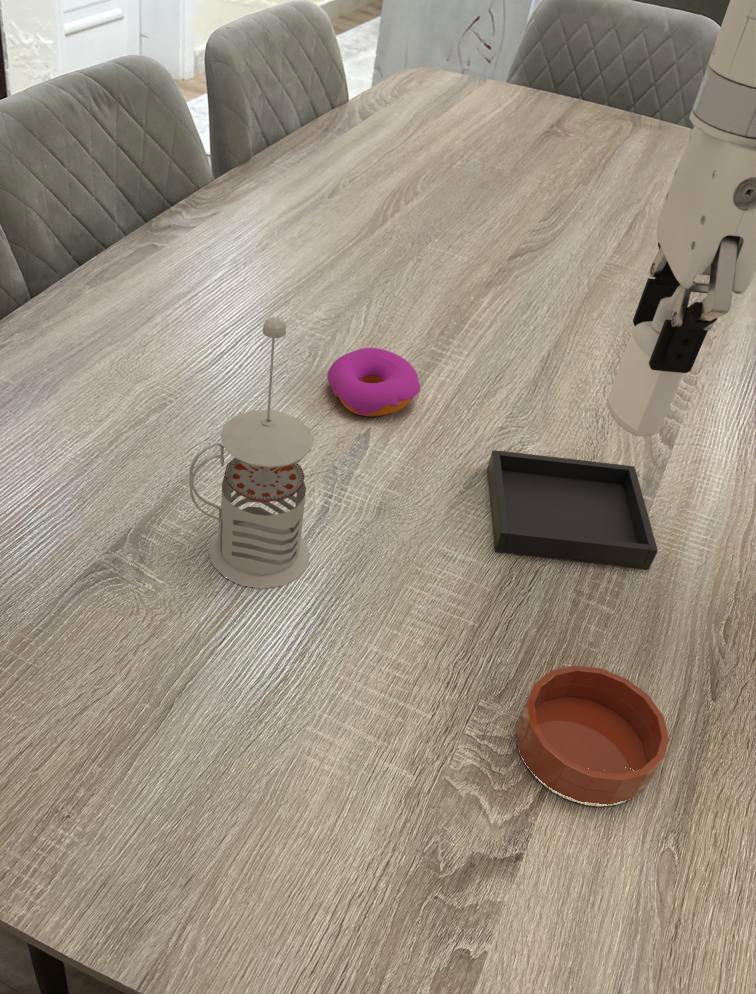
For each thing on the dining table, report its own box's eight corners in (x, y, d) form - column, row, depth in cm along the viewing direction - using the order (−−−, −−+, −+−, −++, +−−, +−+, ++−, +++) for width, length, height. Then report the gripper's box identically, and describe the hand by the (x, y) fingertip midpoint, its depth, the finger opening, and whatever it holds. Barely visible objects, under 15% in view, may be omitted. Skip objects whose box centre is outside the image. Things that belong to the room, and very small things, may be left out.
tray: (626, 484, 104) (634, 466, 102) (649, 569, 94) (658, 550, 92) (486, 468, 104) (492, 449, 102) (495, 552, 94) (501, 532, 92)
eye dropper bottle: (604, 432, 78) (654, 299, 70) (605, 396, 82) (652, 266, 73) (657, 443, 78) (714, 310, 69) (656, 406, 82) (709, 276, 73)
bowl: (637, 703, 82) (654, 673, 79) (662, 815, 74) (681, 787, 71) (510, 688, 82) (522, 658, 79) (521, 799, 74) (534, 770, 71)
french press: (313, 589, 88) (344, 354, 70) (189, 588, 87) (187, 349, 69) (305, 519, 95) (331, 290, 77) (190, 518, 94) (188, 284, 76)
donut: (316, 378, 113) (320, 344, 110) (394, 370, 116) (400, 337, 113) (345, 428, 107) (350, 394, 103) (427, 418, 109) (434, 384, 106)
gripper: (857, 161, 56) (734, 414, 69) (772, 69, 68) (681, 299, 81) (733, 148, 56) (633, 404, 69) (670, 59, 68) (595, 291, 81)
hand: (660, 345), depth 75 cm, fingers closed on eye dropper bottle, 5 cm apart
